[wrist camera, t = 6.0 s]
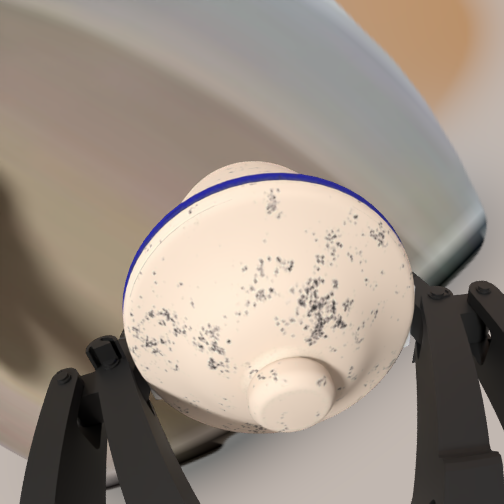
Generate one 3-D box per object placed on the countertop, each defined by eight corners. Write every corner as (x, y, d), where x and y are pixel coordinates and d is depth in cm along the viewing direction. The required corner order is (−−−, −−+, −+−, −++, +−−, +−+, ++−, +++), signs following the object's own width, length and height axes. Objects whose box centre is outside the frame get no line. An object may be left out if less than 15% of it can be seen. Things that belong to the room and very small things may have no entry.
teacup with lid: (139, 210, 16) (10, 336, 5) (290, 126, 15) (428, 106, 4) (244, 364, 20) (260, 526, 9) (367, 304, 19) (464, 440, 8)
